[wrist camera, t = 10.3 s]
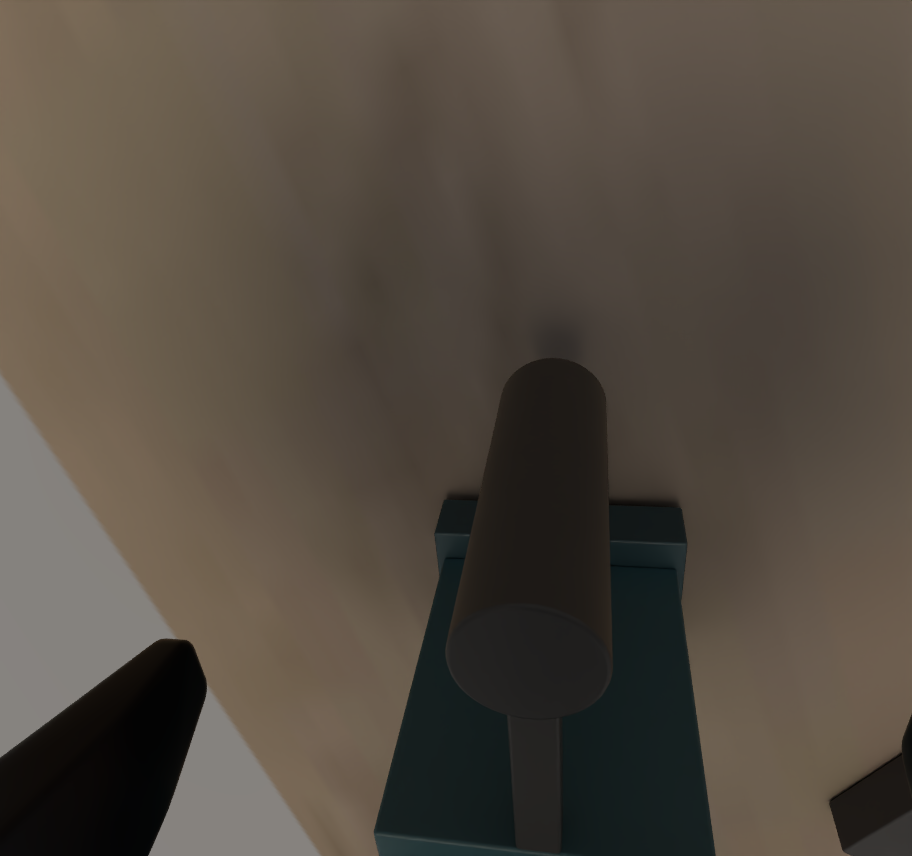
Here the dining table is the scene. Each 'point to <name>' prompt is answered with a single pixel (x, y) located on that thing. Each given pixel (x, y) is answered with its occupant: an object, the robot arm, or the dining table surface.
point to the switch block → (876, 814)
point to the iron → (551, 657)
